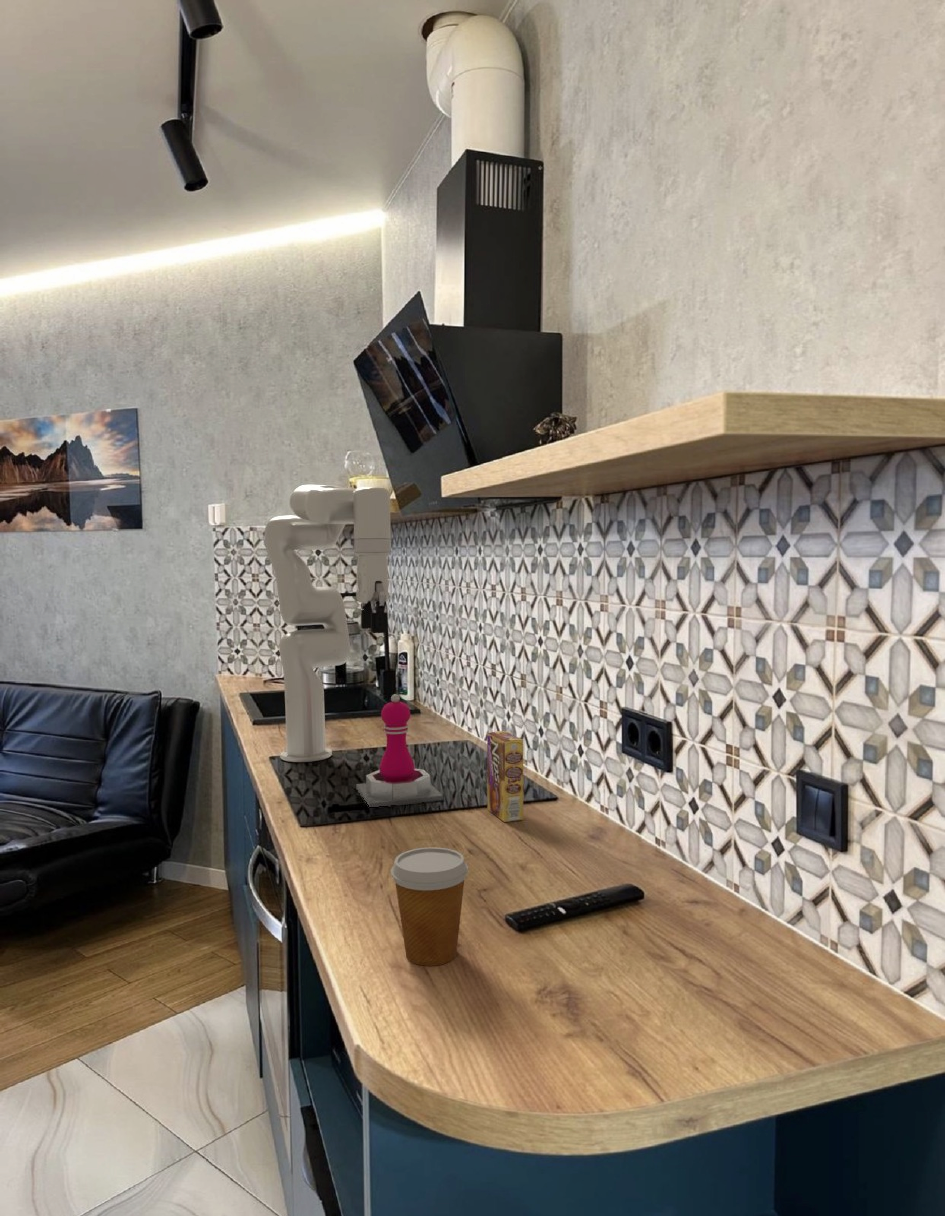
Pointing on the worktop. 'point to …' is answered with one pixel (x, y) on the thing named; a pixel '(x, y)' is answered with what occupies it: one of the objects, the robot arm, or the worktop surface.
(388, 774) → the pepper mill
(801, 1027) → the worktop surface
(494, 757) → the candy box
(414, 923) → the disposable coffee cup
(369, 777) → the collar stand
